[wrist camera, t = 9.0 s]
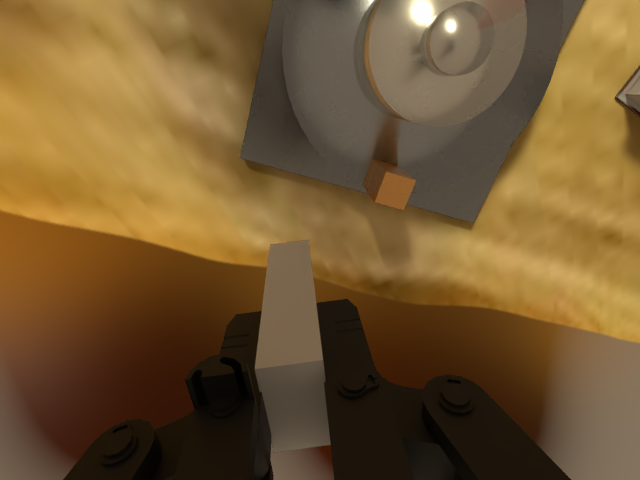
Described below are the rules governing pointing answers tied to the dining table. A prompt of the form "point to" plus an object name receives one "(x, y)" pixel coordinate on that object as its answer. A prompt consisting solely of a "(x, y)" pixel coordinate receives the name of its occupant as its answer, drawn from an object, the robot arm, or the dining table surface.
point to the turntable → (391, 133)
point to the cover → (438, 56)
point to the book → (631, 93)
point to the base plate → (302, 158)
